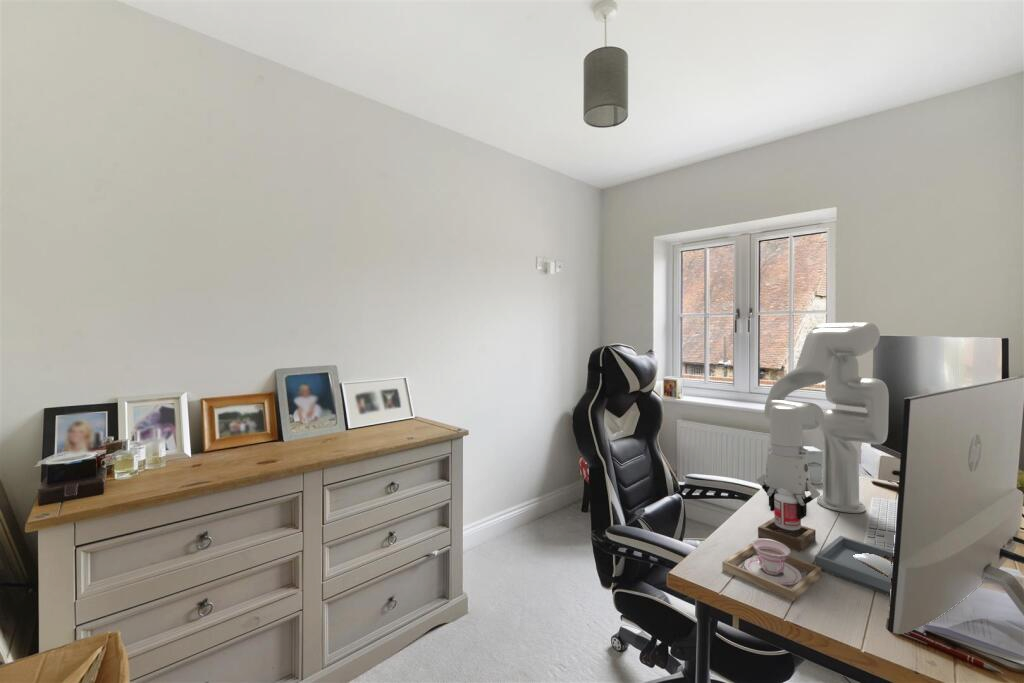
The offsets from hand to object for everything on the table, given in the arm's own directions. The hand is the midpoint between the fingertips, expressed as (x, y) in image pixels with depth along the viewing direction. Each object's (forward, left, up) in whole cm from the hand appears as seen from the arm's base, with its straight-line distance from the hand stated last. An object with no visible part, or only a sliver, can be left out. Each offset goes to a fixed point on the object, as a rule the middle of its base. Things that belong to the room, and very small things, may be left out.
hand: (787, 513), depth 121 cm
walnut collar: (+1, 0, -7) cm, 7 cm away
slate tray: (+3, +19, -7) cm, 20 cm away
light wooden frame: (+22, +5, -7) cm, 23 cm away
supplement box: (-55, -15, -7) cm, 58 cm away
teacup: (+21, +5, -8) cm, 22 cm away
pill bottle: (0, 0, -4) cm, 4 cm away
